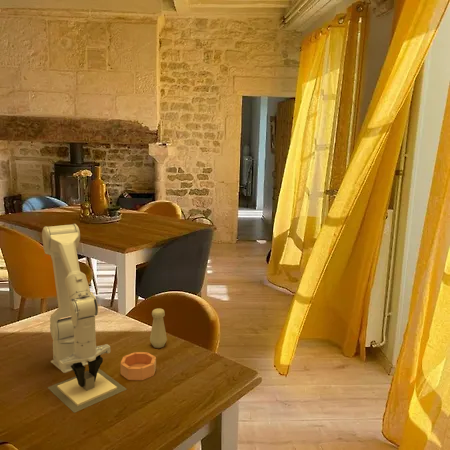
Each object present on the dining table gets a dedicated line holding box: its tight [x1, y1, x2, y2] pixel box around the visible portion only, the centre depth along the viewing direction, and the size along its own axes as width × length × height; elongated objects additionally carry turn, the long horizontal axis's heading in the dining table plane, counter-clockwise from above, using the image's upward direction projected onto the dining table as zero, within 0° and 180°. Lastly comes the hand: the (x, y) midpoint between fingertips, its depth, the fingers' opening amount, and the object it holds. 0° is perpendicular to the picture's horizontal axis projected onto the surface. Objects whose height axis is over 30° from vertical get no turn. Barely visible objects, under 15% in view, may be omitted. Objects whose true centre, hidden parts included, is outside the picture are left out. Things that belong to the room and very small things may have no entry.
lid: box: [57, 370, 117, 406], centre depth 128 cm, size 12×12×4 cm
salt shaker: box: [149, 307, 168, 349], centre depth 155 cm, size 6×6×13 cm
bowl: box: [119, 351, 157, 381], centre depth 138 cm, size 10×10×4 cm
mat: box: [46, 368, 128, 414], centre depth 129 cm, size 16×16×1 cm
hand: (86, 383), depth 128 cm, fingers open, 3 cm apart
